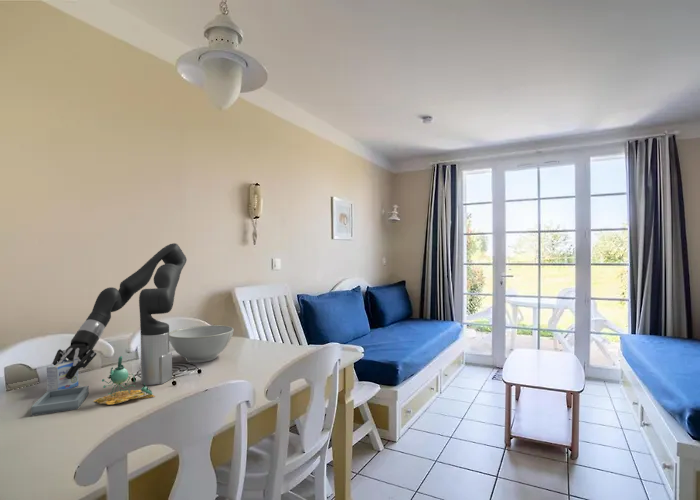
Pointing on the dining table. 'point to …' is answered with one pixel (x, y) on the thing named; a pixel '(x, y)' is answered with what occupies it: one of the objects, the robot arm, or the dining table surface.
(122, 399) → the frog figurine
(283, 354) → the dining table surface
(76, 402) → the tray
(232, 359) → the dining table surface
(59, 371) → the medicine box
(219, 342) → the decorative bowl
